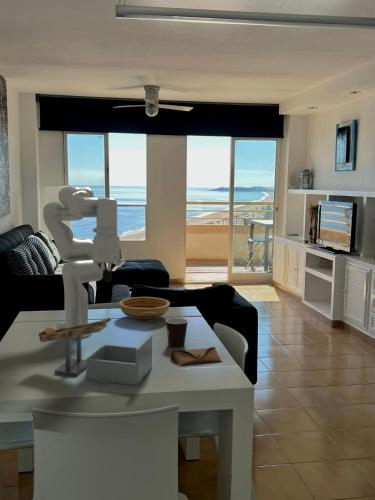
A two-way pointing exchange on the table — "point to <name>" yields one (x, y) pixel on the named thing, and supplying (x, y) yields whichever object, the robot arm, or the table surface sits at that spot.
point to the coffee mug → (176, 332)
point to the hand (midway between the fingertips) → (107, 280)
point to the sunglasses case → (195, 356)
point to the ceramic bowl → (144, 308)
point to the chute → (75, 330)
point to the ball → (50, 330)
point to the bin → (120, 363)
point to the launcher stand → (72, 365)
